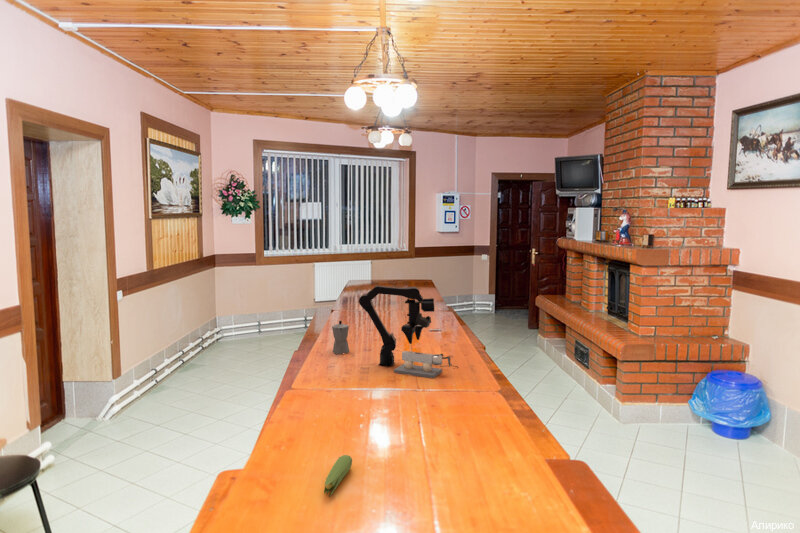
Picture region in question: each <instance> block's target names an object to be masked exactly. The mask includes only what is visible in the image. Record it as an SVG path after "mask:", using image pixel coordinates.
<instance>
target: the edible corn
mask: <svg viewBox="0 0 800 533" xmlns="http://www.w3.org/2000/svg"><path fill="white" fill-rule="evenodd" d="M352 463H353V458H352V457H351V455H348V454H343V455H341V456H338V457H337V459H336V461H335V463H334V464H333V466H332V468H331V469H330V471H329V472H328V474H327V477H325V482H324V490H323V493H324V494H325V493H326V496H327V495H328V494H329V495H330V496H329V497H331V496H332V495H333V493H334V492H335V490H336V489H337V488H338V486H339V484H340V483H341V482H342V480H343V479H344V478H345V476H346V475H347V474H348V472H349V471H350V469H351V468H352ZM329 492H330V493H329Z"/></svg>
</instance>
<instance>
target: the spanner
mask: <svg viewBox="0 0 800 533" xmlns="http://www.w3.org/2000/svg"><path fill="white" fill-rule="evenodd" d="M439 354H440V353H437V354H436V353H435V354H434V353H433V354H432V353H426V352H425V353H424V352H416V351H408V350H403V351H402V352H401V360H402V361H412V362H413V363H420V364H423V363H427V364H432V366H443V358H442V357H443V356H442V355H439Z"/></svg>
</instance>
